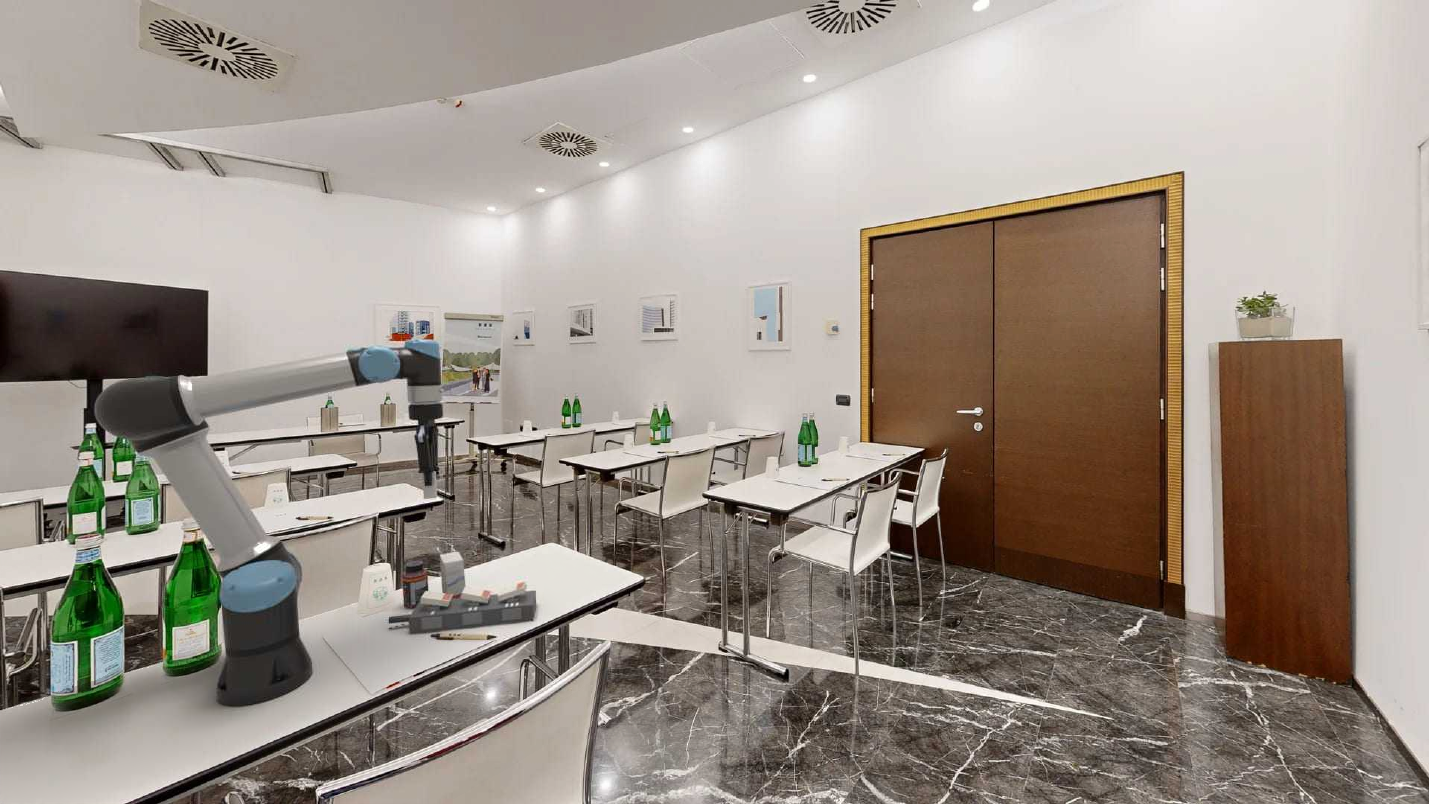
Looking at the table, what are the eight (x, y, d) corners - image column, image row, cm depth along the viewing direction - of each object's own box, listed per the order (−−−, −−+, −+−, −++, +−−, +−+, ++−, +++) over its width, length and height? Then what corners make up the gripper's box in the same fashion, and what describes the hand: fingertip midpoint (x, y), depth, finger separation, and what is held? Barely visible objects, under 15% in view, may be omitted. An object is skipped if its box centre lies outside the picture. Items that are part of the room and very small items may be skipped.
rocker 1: (419, 604, 137) (421, 597, 137) (424, 597, 141) (425, 590, 141) (447, 608, 138) (449, 600, 138) (451, 601, 142) (453, 593, 142)
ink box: (467, 602, 151) (465, 559, 151) (446, 607, 149) (444, 563, 148) (461, 591, 159) (459, 550, 158) (441, 596, 156) (439, 554, 155)
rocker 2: (459, 600, 139) (461, 592, 139) (463, 593, 143) (465, 585, 143) (486, 605, 140) (488, 597, 140) (489, 598, 144) (491, 590, 144)
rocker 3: (499, 602, 141) (497, 595, 141) (502, 596, 145) (499, 589, 145) (525, 594, 142) (523, 587, 142) (527, 587, 146) (525, 580, 146)
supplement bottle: (401, 604, 151) (398, 562, 150) (425, 597, 155) (423, 557, 154) (407, 611, 147) (404, 568, 146) (432, 604, 150) (429, 563, 150)
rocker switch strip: (383, 637, 133) (382, 616, 133) (395, 619, 142) (394, 600, 142) (533, 620, 140) (532, 601, 140) (536, 605, 149) (535, 586, 149)
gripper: (435, 404, 134) (440, 503, 136) (448, 400, 146) (452, 491, 148) (400, 405, 132) (406, 505, 134) (416, 401, 145) (421, 492, 147)
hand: (430, 497), depth 141 cm, fingers closed
